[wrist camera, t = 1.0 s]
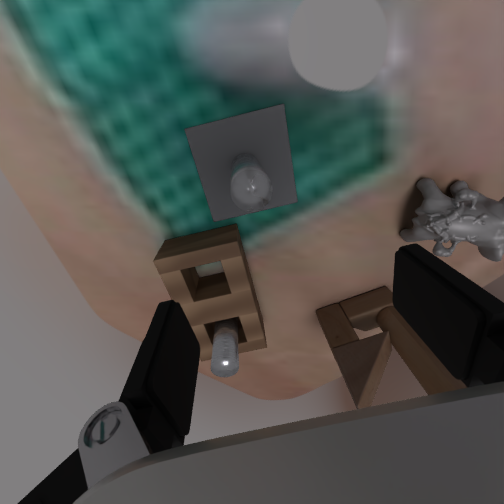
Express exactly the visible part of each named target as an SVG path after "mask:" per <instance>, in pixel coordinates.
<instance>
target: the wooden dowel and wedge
mask: <svg viewBox="0 0 504 504" xmlns="http://www.w3.org/2000/svg"><path fill="white" fill-rule="evenodd" d="M392 297H393V293H392V292H391V291H390V290H389V289H388V288H387V287H382V288H379V289H376V290H373V291H371V292H368V293H365V294H362V295H359V296H356V297H354V298H351V299H348V300H345V301H342V302H340V303H339V304H338V303H336V304H333V305H330V306H327V307H324V308H321V309H319V310H317V311H316V314H317V317H318V320H319V322H320V325H321V327H322V330H323V332H324V334H325V337H326V339H327V341H328V344H329V346H330V348H331V351H332V353H333V355H334V358H335V360H336V362H337V363H338V366H339V368H340V371H341V373H342V375H343V378H344V380H345V382H346V385H347V387H348V389H349V391H350V394H351V396H352V399H353V401H354V403H355V405H356V408H357V409H361V408H366V407H371V405H372V402H373V399H374V397H375V394H376V391H377V389H378V386H379V383H380V380H381V378H382V375H383V372H384V370H385V367H386V365H387V362H388V359H389V357H390V354H391V351H392V346H391V344H392V345H393V346H394V348H395V349H396V351H397V352H398V353H399V355H400V356H401V358H402V359H403V360H404V362H405V363H406V364H407V366H408V367H409V369H410V370H411V372H412V373H413V374H414V376H415V377H416V379H417V380H418V381H419V383H420V384H421V386H422V387H423V388H424V390H425V391H426V393H427V394H428V395H432V394H437V393H442V392H448V391H453V390H458V389H464V388H467V386H466V385H465V384H464V383H463V382H462V381H461V380H458V379H456V378H454V377H453V376H452V375H451V373H450V372H449V371H448V370H447V369H446V367H445V366H444V365H443V364H442V363H441V362H440V360H439V359H438V358H437V357H436V356H435V355H434V353H433V352H432V351H431V350H430V349H429V348H428V346H427V345H426V344H425V343H424V342H423V340H422V339H421V338H420V337H419V336H418V335H417V333H416V332H415V331H414V330H413V329H412V328H411V326H410V325H409V324H408V323H407V322H406V321H405V319H404V318H403V317H402V316H401V315H400V313H399V312H398V311H397V310H396V309H395V307H394V305H393V302H392ZM377 327H380V328H381V330H382V331H383V333H380V334H376V335H373V336H370V337H367V338H364V339H361V340H359V338H358V336H357V334H356V333H355V331H354V329H353V328H356V329H359V330H363V331H368V330H371V329H374V328H377Z"/></svg>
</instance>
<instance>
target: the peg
mask: <svg viewBox="0 0 504 504" xmlns="http://www.w3.org/2000/svg"><path fill="white" fill-rule="evenodd" d="M230 192H231V197H232V200H233V202H234V203H235V204H236V206H238V207H239V208H240V209H242V210H245V211H249V212H253V211H258V210H260V209H262V208H264V207H265V206H266V205H267V204H268V203H269V201H270V199H271V197H272V184H271V181H270V179H269V178H268V176H267V175H266V173H265V172H264V170H263V168H262V167H261V165H260V164H259V162H258V161H257V159H256V158H255V157H254V156H252V155H250V154H240V155H238V156H237V157H236V158H235V159H234V160H233V163H232V167H231V189H230Z"/></svg>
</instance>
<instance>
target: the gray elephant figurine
mask: <svg viewBox="0 0 504 504" xmlns="http://www.w3.org/2000/svg"><path fill="white" fill-rule="evenodd" d="M417 188H418V189H419V190H420V191H421V192H422V194H423V197H424V200H423V202H422V205H421V206H420V207H419V208H417V209H416V210H415V213H416V214H417V215H418V217H415V218H413V219H412V222H413V224H414V227H413V229H403V230H402V231H401V232H400V235H401V237H402V239H403V240H405V241H406V242H415V241H423V240H433V239H434V241H436V242H437V243H436V245H435V246H434V248H433V254H434V255H436V256H445V257H448V256H451V254H452V252H453V251H454V249H455V247H456V245H457V244H458V243H459V242H461V241H468V242H470V243H472V244H474V245H477V246H478V250H479V252H480V253H481V255H482V256H484V257H485V258H487V259H489V260H492V261H501V259H502V255H503V253H504V197H503V198H502V199H501V200H500V201H499V202H498V201H495V200H493V199H490V198H487V197H485V196H484V195H482V194H480V193H478V192H477V191H474V190H470V189H469V188H468V185H467V183H466V182H464V181H457V182H455V183H454V184H453V185H451V187H450V192H451V194H452V195H453V197H454V198H452V199H451V198H450V197H448V196H446V195H445V194H443V193H442V192H441V191H440V189H439V188H438V187H437V186H436V184H435V182H434V181H433V180H432V179H430V178H424V179H421V180H420V181H419V182H418V183H417ZM449 240H451V243H452V246H451V247H450V248H448V249H447V248H445V247H444V246H443V245H442V242H444V243H447V242H448V241H449Z"/></svg>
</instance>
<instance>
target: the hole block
mask: <svg viewBox="0 0 504 504" xmlns="http://www.w3.org/2000/svg"><path fill="white" fill-rule="evenodd" d="M217 261H221V263H222V266H223V269H224V273H219V274H215V275H210V276H206V277H202V278H199V277H198V274H197V272H196V269H195V266H199V265H204V264H208V263H212V262H217ZM153 262H154V264H155V266H156V268H157V270H158V272H159V274H160V276H161V278H162V280H163V282H164V285H165V287H166V289H167V291H168V293H169V295H170V297H171V299H172V300H174V301H175V302H179V303H180V305H181V307H182V309H183V311H184V313H185V315H186V317H187V319H188V321H189V323H190V325H191V327H192V329H193V331H194V333H195V335H196V338H197V340H198V342H199V344H200V359H201V361H206V360H210V359H212V349H213V338H214V327H215V321H220V320H224V319H229V318H233V317H238V316H239V317H238V354H239V353H243V352H248V351H253V350H257V349H262V348H267V344H266V337H265V330H264V324H263V319H262V315H261V311H260V308H259V304H258V300H257V297H256V293H255V289H254V286H253V282H252V278H251V275H250V271H249V267H248V264H247V260H246V256H245V252H244V249H243V245H242V241H241V238H240V234H239V230H238V227H237V224H233V225H229V226H225V227H220V228H216V229H212V230H208V231H203V232H199V233H195V234H191V235H187V236H182V237H178V238H174V239H170V240H165V241H164V243H163V245H162V246H161V248H160V250H159V252H158V253H157V255H156V257H155V258H154V260H153Z"/></svg>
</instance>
